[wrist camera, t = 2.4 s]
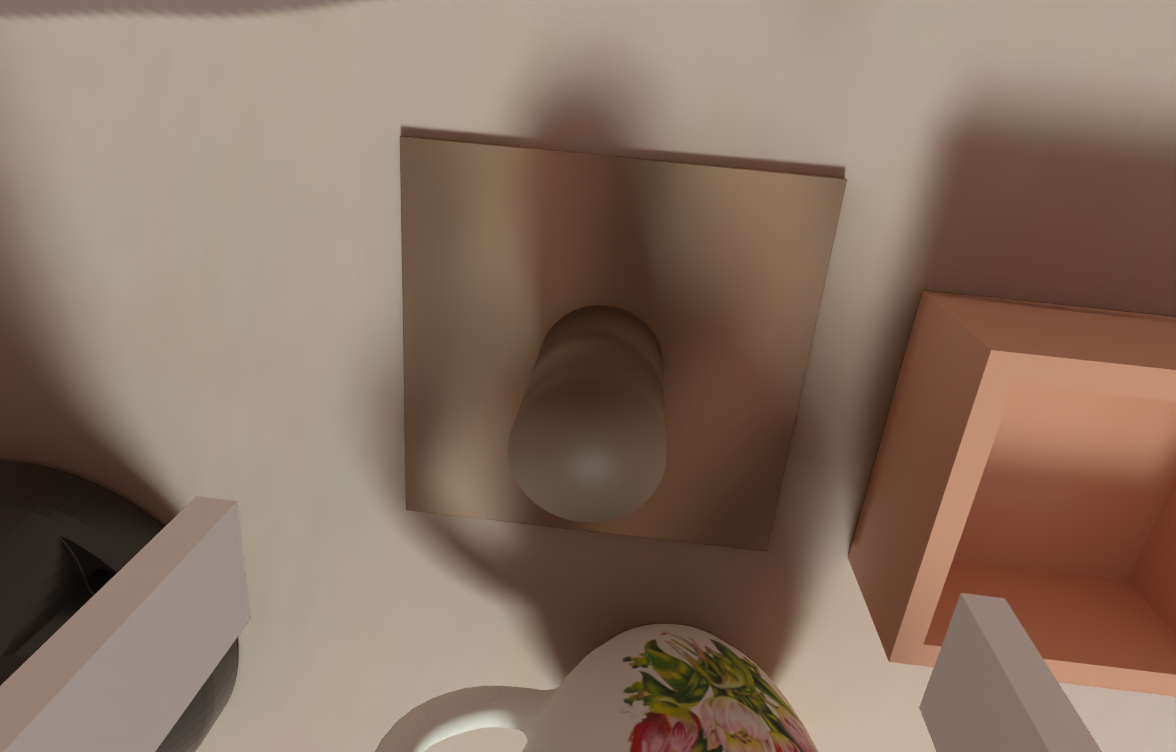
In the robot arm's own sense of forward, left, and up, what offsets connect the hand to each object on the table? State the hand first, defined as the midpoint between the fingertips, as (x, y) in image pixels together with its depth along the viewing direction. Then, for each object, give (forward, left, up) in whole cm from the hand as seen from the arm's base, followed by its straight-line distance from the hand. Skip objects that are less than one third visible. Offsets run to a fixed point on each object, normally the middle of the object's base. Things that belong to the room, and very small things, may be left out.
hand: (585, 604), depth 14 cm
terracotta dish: (+14, -2, -12) cm, 18 cm away
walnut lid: (0, 0, -12) cm, 12 cm away
